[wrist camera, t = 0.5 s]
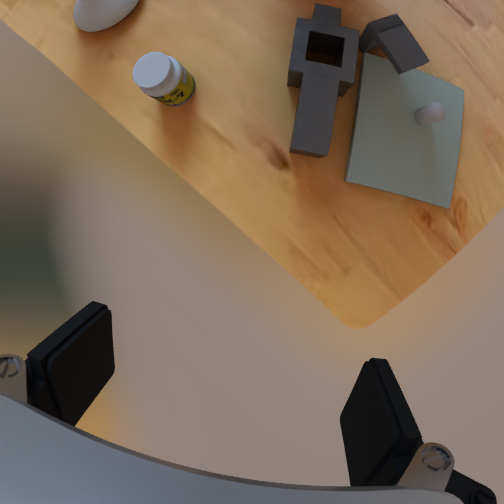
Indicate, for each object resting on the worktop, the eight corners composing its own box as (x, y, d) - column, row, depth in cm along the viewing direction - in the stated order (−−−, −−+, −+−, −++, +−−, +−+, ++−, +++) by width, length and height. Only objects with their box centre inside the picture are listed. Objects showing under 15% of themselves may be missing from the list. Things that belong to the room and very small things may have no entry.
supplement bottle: (160, 110, 33) (129, 97, 25) (157, 76, 32) (127, 55, 24) (198, 102, 32) (175, 85, 24) (194, 67, 31) (172, 42, 23)
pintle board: (357, 27, 28) (369, 4, 22) (460, 65, 27) (484, 53, 21) (336, 179, 33) (347, 181, 27) (444, 207, 33) (470, 215, 27)
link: (299, 12, 28) (301, -12, 22) (350, 22, 28) (361, 1, 22) (276, 149, 33) (275, 145, 27) (332, 160, 33) (342, 159, 27)
